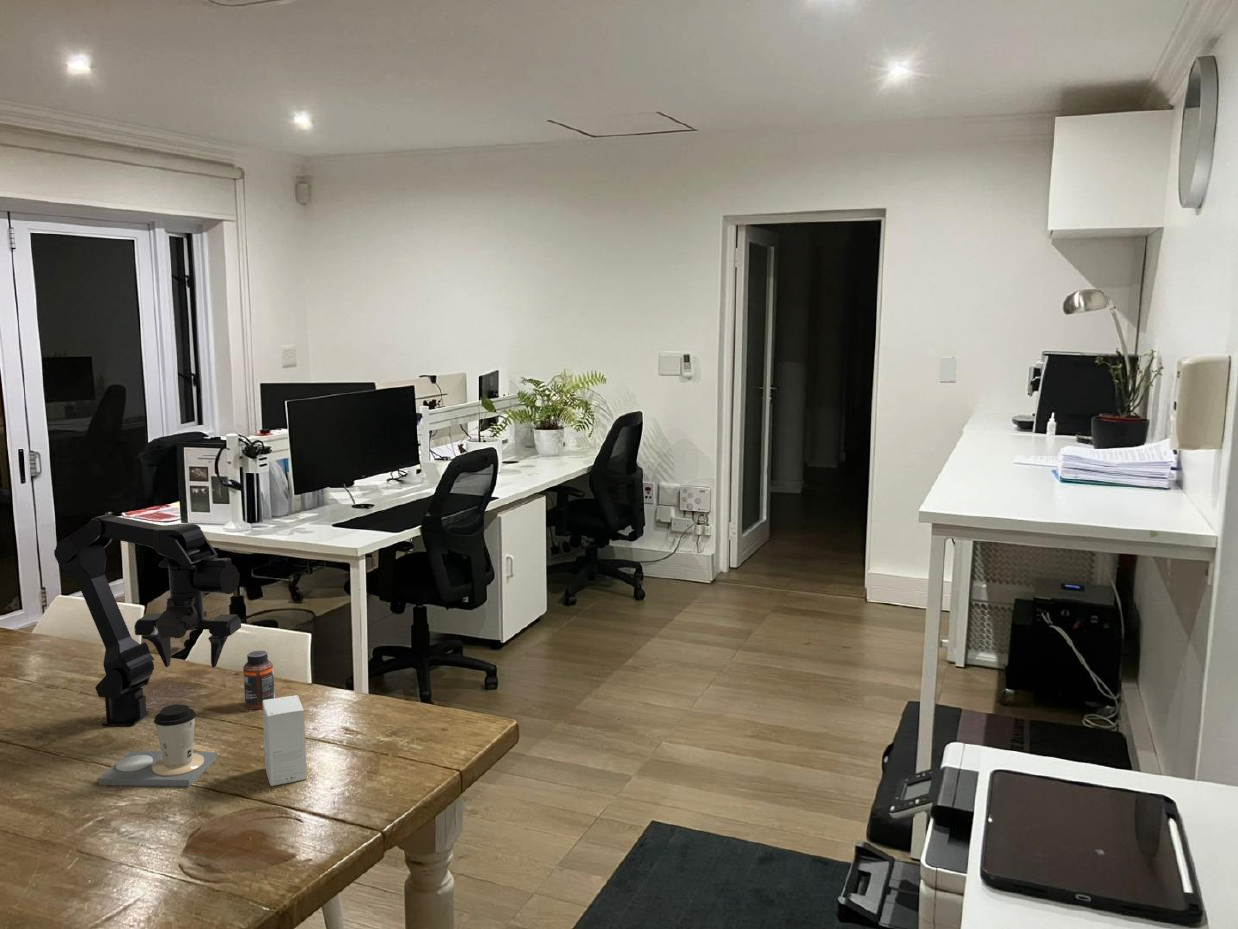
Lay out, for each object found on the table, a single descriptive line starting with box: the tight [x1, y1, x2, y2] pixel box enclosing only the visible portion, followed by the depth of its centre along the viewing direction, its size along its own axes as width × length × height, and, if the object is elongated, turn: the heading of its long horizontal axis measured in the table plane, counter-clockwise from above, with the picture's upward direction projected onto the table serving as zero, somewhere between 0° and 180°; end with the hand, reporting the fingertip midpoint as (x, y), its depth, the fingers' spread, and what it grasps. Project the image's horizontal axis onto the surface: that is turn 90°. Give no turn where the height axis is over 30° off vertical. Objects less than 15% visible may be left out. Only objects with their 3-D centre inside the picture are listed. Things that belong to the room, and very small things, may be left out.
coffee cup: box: [153, 703, 197, 768], centre depth 173 cm, size 7×7×10 cm
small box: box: [262, 694, 308, 787], centre depth 173 cm, size 8×6×13 cm
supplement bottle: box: [242, 650, 276, 710], centre depth 204 cm, size 6×6×11 cm
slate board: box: [98, 750, 218, 788], centre depth 174 cm, size 16×11×2 cm
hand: (190, 666), depth 190 cm, fingers open, 9 cm apart
